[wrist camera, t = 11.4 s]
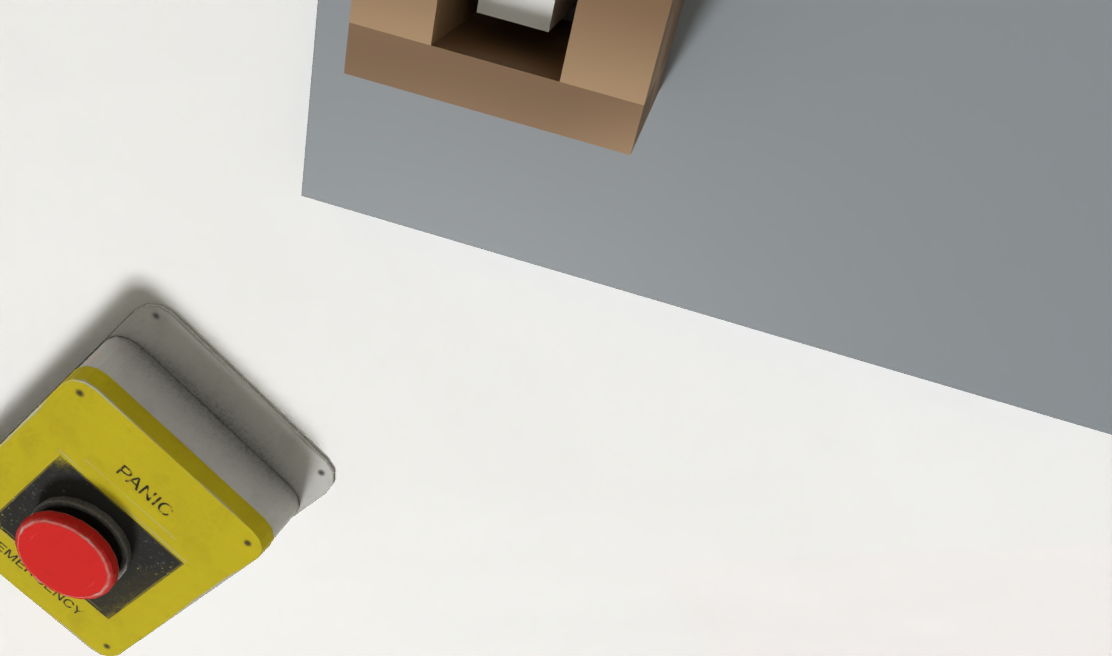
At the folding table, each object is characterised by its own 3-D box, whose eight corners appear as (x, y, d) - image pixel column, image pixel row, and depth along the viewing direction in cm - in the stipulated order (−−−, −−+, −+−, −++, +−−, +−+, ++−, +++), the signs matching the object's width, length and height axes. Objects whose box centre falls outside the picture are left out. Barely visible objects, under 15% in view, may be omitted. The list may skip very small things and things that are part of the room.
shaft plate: (1441, -113, 21) (1631, -84, 16) (1111, 409, 28) (1175, 535, 23) (376, -377, 23) (265, -419, 18) (322, 177, 30) (233, 252, 25)
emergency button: (-119, 549, 37) (81, 348, 30) (-35, 478, 41) (160, 285, 34) (73, 703, 39) (300, 549, 32) (136, 622, 43) (352, 468, 36)
